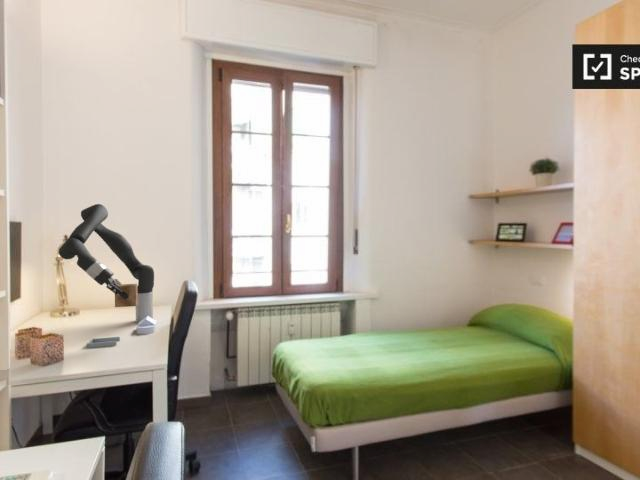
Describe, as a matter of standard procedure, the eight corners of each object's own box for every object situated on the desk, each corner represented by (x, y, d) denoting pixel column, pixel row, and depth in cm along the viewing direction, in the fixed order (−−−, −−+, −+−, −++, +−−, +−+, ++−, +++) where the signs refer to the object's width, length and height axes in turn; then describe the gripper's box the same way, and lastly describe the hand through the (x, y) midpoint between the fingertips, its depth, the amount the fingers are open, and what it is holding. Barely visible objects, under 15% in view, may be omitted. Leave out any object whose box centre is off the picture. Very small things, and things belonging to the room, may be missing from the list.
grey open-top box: (87, 348, 173) (87, 343, 173) (92, 342, 180) (91, 338, 180) (116, 345, 176) (116, 341, 176) (119, 340, 184) (119, 336, 184)
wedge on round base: (138, 328, 206) (135, 335, 194) (138, 316, 206) (135, 322, 193) (156, 327, 209) (154, 333, 197) (156, 315, 209) (154, 320, 196)
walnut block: (115, 307, 177) (114, 286, 177) (117, 305, 182) (116, 284, 181) (136, 306, 180) (135, 285, 179) (137, 304, 184) (137, 283, 184)
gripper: (97, 276, 183) (125, 299, 187) (88, 280, 169) (119, 305, 173) (109, 265, 184) (136, 288, 188) (101, 268, 171) (131, 293, 175)
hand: (128, 296), depth 181 cm, fingers closed on walnut block, 5 cm apart
